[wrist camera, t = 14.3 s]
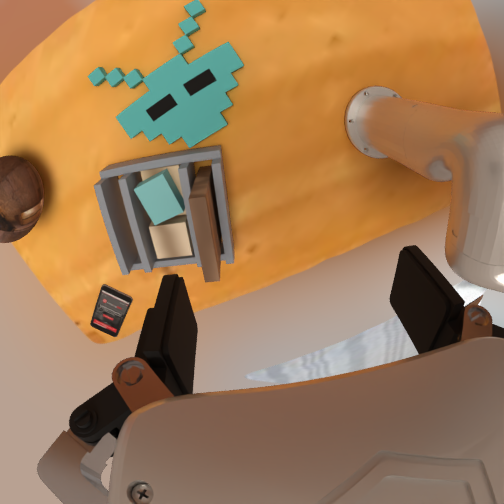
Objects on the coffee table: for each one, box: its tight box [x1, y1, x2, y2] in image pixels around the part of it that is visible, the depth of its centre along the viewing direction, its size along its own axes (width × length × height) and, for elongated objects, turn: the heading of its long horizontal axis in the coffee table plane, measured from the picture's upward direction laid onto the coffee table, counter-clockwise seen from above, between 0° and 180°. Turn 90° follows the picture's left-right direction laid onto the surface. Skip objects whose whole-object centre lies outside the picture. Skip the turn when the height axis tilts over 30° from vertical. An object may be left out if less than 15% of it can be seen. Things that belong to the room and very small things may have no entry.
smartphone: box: [90, 284, 133, 337], centre depth 59 cm, size 7×1×15 cm
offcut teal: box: [134, 169, 185, 225], centre depth 41 cm, size 5×6×3 cm
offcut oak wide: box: [141, 164, 186, 215], centre depth 44 cm, size 6×8×4 cm
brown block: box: [188, 166, 222, 282], centre depth 42 cm, size 2×12×14 cm, turn 5°
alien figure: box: [88, 0, 244, 148], centre depth 36 cm, size 20×2×20 cm
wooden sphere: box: [0, 156, 44, 243], centre depth 35 cm, size 15×15×15 cm
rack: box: [94, 145, 234, 275], centre depth 45 cm, size 19×18×7 cm
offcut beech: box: [149, 214, 193, 259], centre depth 48 cm, size 6×6×5 cm
